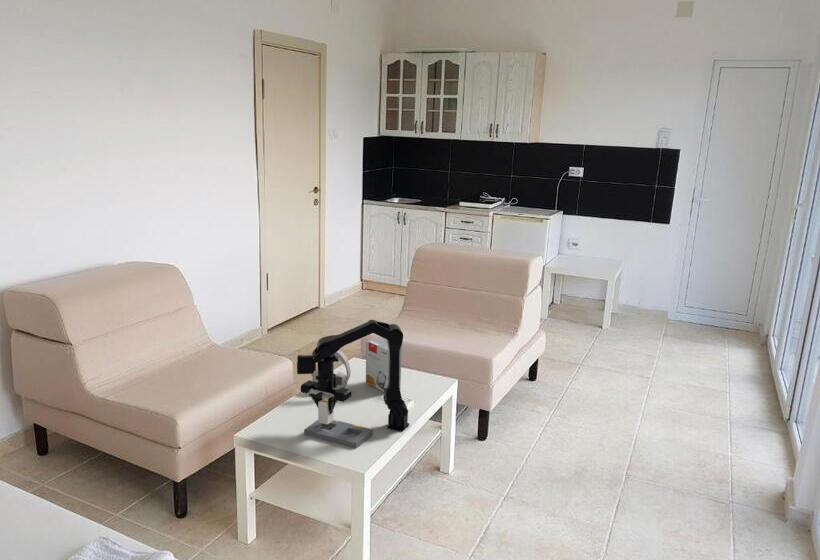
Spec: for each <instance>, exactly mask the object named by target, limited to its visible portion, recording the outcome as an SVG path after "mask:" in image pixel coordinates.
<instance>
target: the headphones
mask: <svg viewBox="0 0 820 560" xmlns="http://www.w3.org/2000/svg"><path fill="white" fill-rule="evenodd" d="M334 354H335V355H336V356H337V357H338V359H339V361H340V363H342V364H343V366H344V367H345V371H346V374H345V373H343V372H342V371H338V372H337V373H335V374H336V376H340V377H343V378H342V384H341V386H340V385H337V387H336V388H334V390H339V389H340V388H347V386H348V381H349V380H350V377H351V373H352V370H351V366H350V363H349V360H348V359H349V358H347V356H346V355H345V354H344V352H342V351H341V349H339V350H338V351H337V352H336V353H334ZM316 376H318V368H316V371H314V373H313V374H311V377H312V380H311V381H314V382H317V383H318V380H317V379H316Z"/></svg>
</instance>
